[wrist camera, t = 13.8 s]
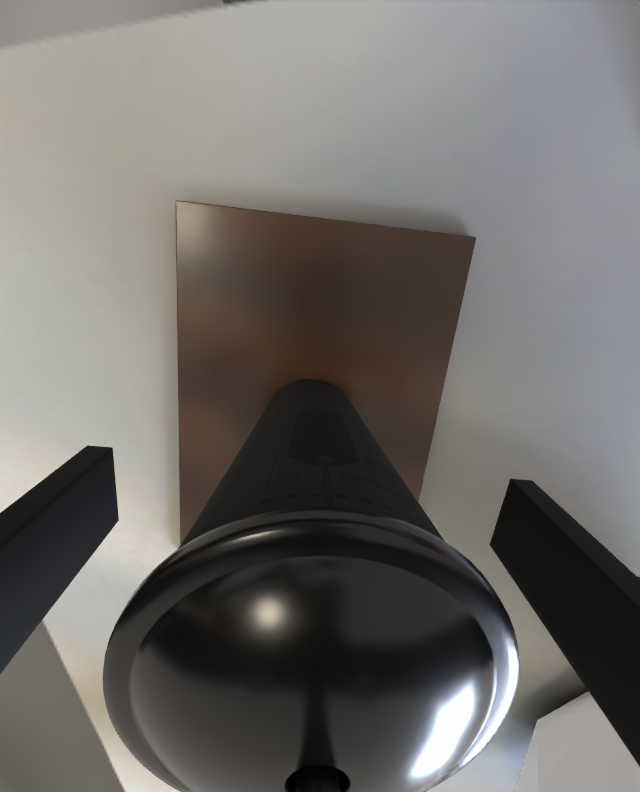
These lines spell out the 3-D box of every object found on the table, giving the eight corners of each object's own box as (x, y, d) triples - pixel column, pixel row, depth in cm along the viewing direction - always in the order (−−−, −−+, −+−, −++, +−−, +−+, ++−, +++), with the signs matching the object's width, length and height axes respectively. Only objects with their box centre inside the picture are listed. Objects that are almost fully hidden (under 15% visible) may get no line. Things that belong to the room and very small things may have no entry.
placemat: (179, 202, 17) (175, 199, 16) (471, 238, 18) (476, 237, 17) (183, 554, 23) (180, 561, 22) (400, 566, 24) (402, 573, 23)
